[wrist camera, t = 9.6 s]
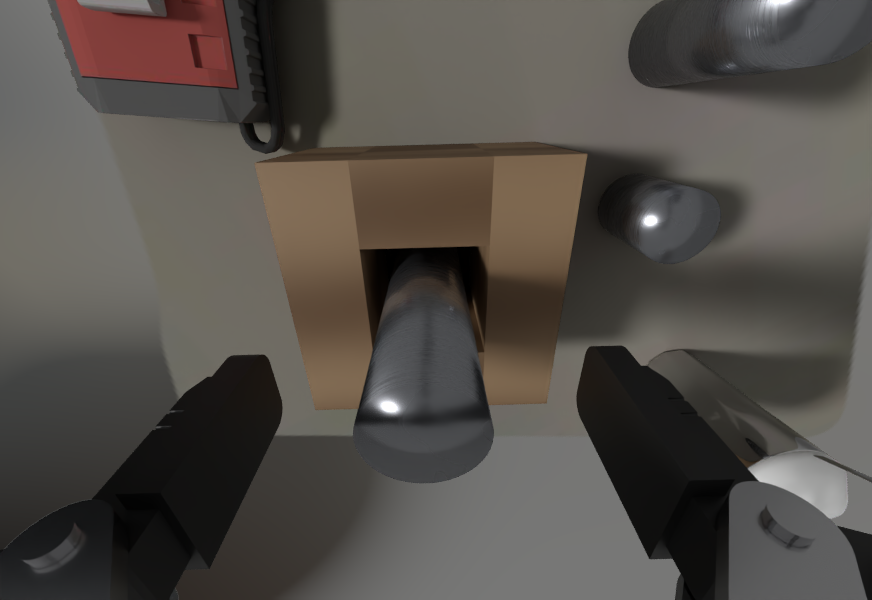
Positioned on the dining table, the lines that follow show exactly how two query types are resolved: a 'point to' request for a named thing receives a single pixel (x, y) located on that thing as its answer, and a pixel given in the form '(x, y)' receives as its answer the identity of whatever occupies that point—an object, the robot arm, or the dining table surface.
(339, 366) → the hole block
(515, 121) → the dining table surface
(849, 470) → the milkshake
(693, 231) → the pin short
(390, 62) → the dining table surface
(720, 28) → the pin medium
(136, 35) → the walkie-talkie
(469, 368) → the pin long
